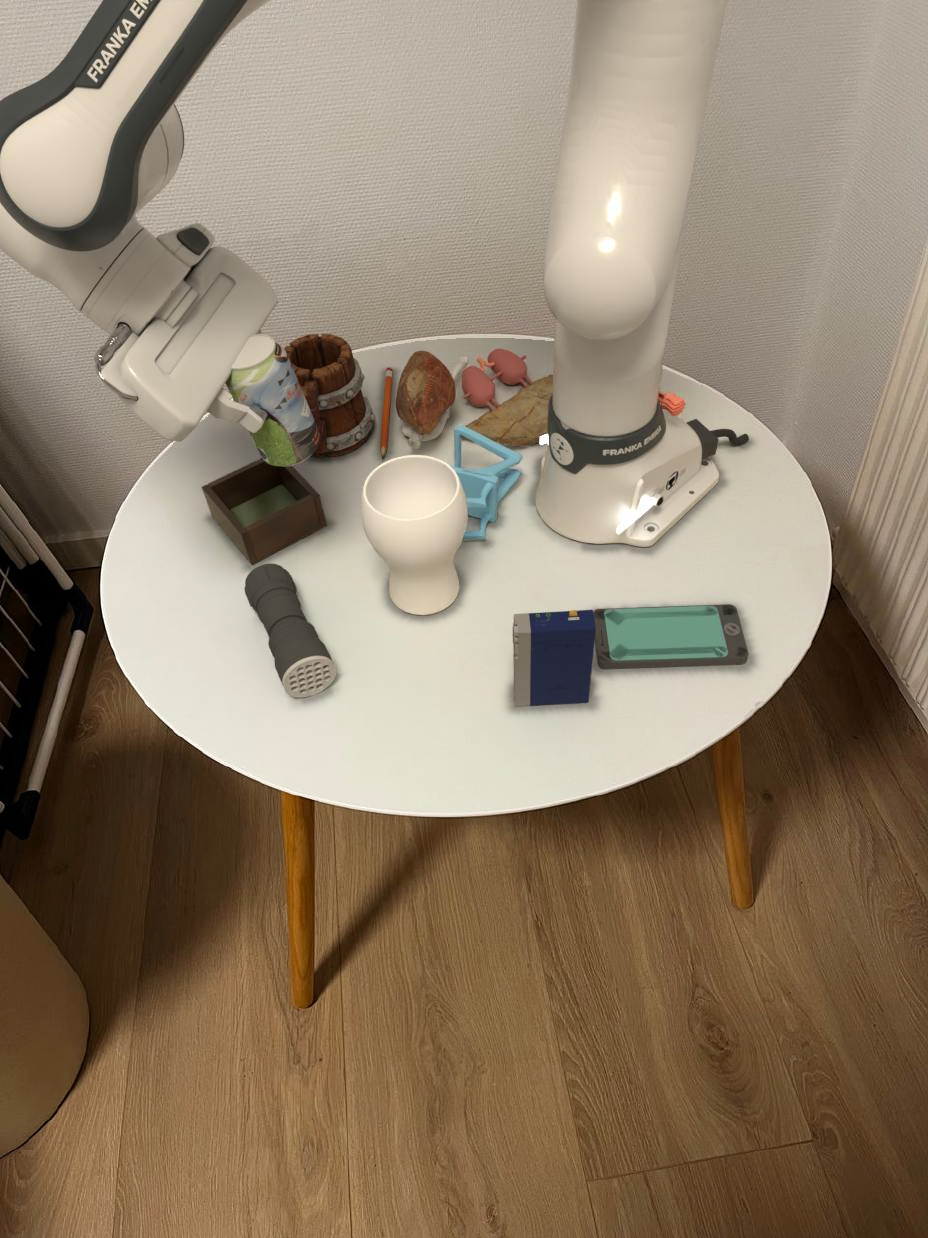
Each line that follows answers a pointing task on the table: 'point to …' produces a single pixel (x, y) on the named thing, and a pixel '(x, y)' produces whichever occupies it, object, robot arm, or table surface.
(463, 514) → the cup
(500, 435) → the fossil
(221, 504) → the can holder
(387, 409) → the pencil
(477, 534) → the chair
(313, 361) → the mug
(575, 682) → the blue rectangular block
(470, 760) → the table surface
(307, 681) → the flashlight
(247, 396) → the beverage can
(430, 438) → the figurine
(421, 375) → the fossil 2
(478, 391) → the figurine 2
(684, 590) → the table surface
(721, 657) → the smartphone
